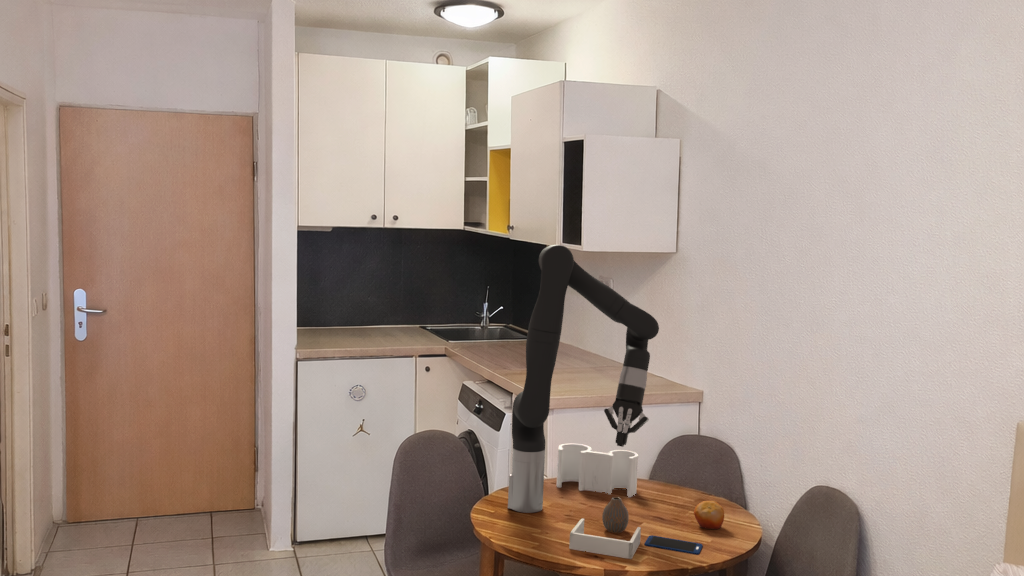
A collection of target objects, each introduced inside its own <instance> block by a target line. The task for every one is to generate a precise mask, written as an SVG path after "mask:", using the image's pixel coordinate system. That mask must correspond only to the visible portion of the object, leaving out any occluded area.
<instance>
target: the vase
mask: <svg viewBox="0 0 1024 576" xmlns="http://www.w3.org/2000/svg"><path fill="white" fill-rule="evenodd" d="M601 518H602V524H603V527H604V528H605V530H607V532H609V533H611V534H612V533H613V534H621V533H623V532H624V531H625V530H626V529H627V527H628V524H629V511H628V509H627V507H626V505H625V504H624V502H623V500H622V498H621V497H619V496H612V498H611V499H610V501H609V502H608V503H607V505H605V507H604V508H603V512H602V517H601Z"/></svg>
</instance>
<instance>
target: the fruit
mask: <svg viewBox="0 0 1024 576" xmlns="http://www.w3.org/2000/svg"><path fill="white" fill-rule="evenodd" d="M693 514H694V517H695V519H696V522H697V524H698V525H699V527H700V528H701V529H707V530H718V529H720V528H722V525H723V523H724V520H725V510H724V508H723V506H722V505H720V503H718V502H717V501H716V500H704V501H700V503H697V505H695V507H694V511H693Z"/></svg>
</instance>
